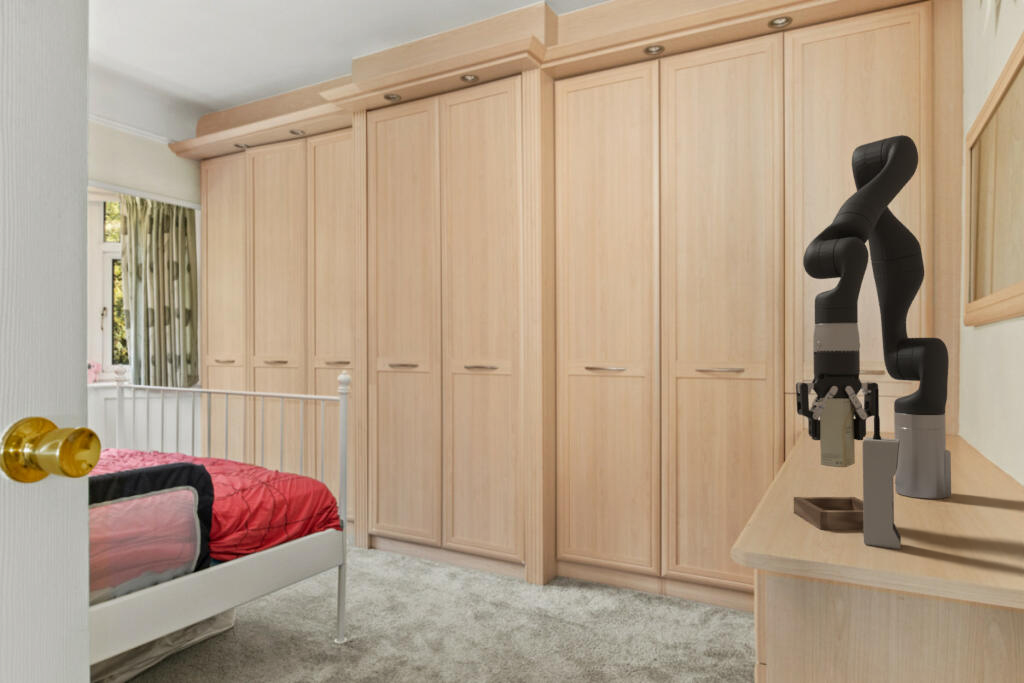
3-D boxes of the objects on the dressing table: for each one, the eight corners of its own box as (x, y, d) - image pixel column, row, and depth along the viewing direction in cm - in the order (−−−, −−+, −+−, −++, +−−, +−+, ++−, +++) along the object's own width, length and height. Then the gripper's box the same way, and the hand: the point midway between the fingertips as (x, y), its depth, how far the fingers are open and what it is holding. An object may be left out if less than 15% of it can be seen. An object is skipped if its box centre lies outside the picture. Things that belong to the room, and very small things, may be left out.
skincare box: (845, 468, 114) (845, 399, 114) (819, 465, 117) (818, 398, 117) (855, 463, 119) (855, 397, 119) (829, 460, 122) (829, 396, 122)
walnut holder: (854, 512, 124) (854, 496, 124) (887, 529, 112) (887, 512, 112) (793, 512, 124) (793, 497, 124) (820, 529, 113) (820, 512, 113)
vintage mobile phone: (900, 550, 101) (898, 388, 101) (863, 544, 104) (861, 387, 104) (901, 543, 104) (899, 387, 104) (865, 539, 107) (863, 386, 107)
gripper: (865, 348, 122) (866, 437, 122) (788, 349, 122) (788, 437, 122) (887, 348, 115) (888, 442, 114) (804, 349, 115) (805, 442, 115)
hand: (836, 439), depth 118 cm, fingers closed on skincare box, 7 cm apart
